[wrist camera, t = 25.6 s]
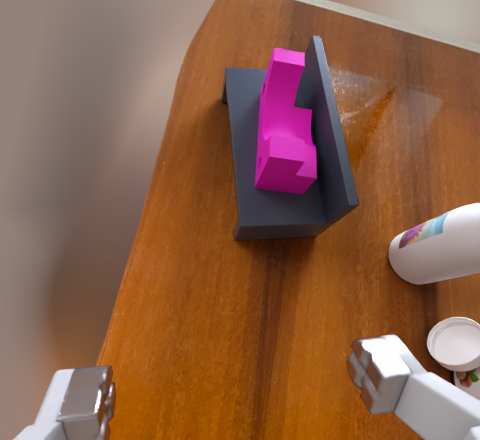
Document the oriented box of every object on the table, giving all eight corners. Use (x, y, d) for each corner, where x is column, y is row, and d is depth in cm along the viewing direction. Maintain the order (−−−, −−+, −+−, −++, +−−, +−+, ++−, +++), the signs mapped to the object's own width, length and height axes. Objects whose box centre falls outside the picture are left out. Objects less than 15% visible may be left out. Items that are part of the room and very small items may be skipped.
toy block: (302, 194, 40) (327, 165, 33) (254, 187, 39) (269, 156, 32) (303, 99, 45) (324, 57, 38) (260, 92, 44) (274, 47, 37)
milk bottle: (442, 281, 46) (618, 246, 27) (396, 288, 44) (548, 257, 25) (424, 231, 48) (574, 166, 29) (379, 236, 46) (508, 172, 28)
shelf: (233, 240, 43) (250, 207, 32) (221, 96, 50) (231, 29, 39) (316, 236, 45) (359, 204, 34) (292, 99, 53) (320, 36, 41)
